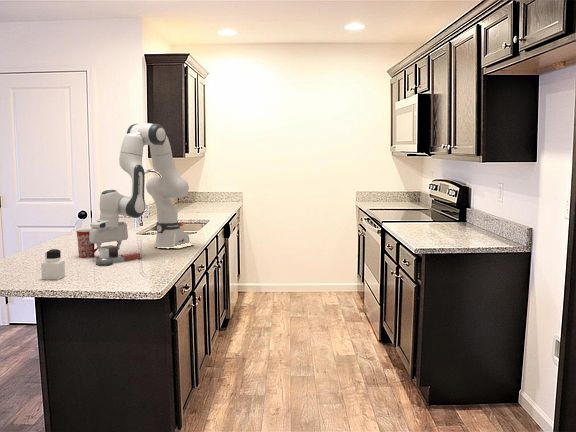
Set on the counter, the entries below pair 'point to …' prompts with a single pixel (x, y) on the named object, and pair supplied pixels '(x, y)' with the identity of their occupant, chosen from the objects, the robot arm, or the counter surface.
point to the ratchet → (106, 260)
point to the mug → (85, 244)
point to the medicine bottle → (53, 265)
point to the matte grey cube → (112, 250)
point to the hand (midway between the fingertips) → (109, 250)
